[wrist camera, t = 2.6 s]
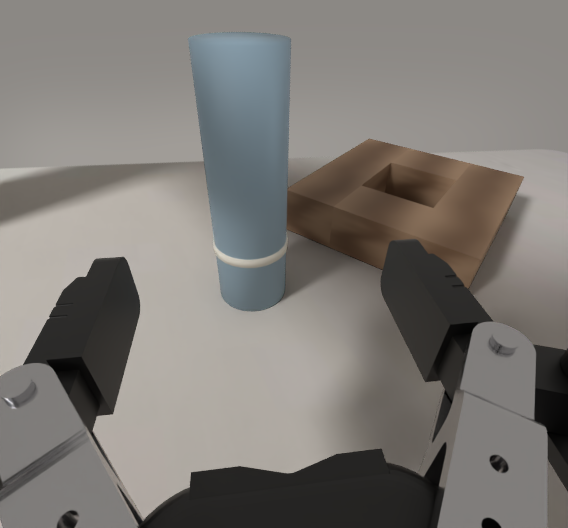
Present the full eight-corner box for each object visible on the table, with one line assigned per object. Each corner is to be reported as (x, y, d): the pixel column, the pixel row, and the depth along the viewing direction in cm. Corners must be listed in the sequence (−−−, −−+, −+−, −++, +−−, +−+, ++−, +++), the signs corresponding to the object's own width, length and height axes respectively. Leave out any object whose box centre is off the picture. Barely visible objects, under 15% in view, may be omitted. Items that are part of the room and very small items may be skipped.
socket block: (284, 228, 33) (285, 189, 31) (363, 171, 43) (369, 138, 41) (461, 303, 26) (481, 260, 23) (506, 213, 36) (524, 176, 33)
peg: (205, 292, 26) (162, 38, 16) (249, 259, 30) (237, 29, 20) (257, 323, 24) (244, 50, 14) (299, 284, 27) (313, 38, 17)
